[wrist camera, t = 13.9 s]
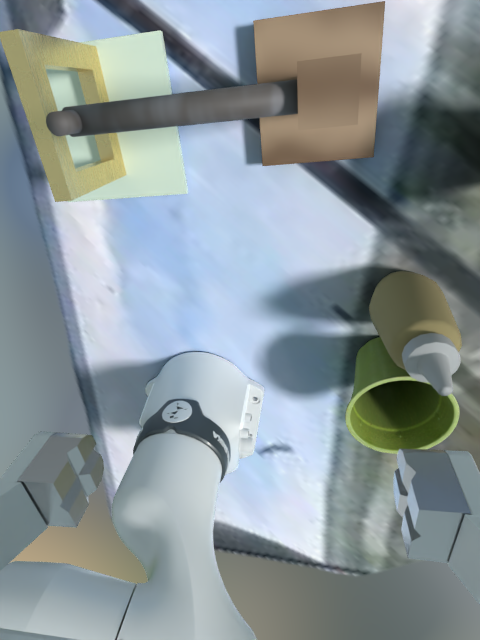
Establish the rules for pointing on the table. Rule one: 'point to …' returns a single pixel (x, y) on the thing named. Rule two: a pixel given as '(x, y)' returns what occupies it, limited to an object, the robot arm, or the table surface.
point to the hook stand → (275, 91)
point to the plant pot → (396, 405)
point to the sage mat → (136, 146)
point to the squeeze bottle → (417, 328)
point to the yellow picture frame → (38, 101)
